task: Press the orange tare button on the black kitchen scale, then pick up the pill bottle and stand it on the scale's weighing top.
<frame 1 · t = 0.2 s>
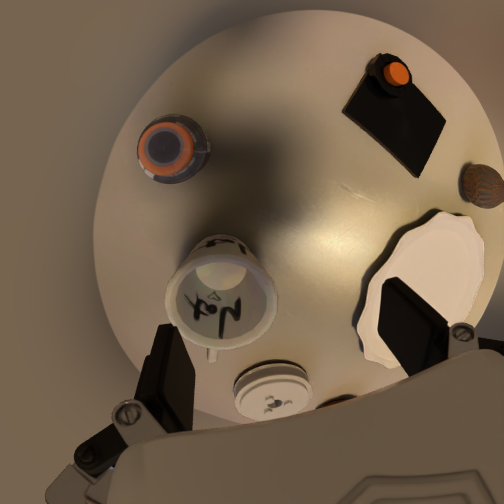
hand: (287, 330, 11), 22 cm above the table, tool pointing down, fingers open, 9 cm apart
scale: (399, 115, 28), on the table
plate: (425, 292, 39), on the table
lid: (270, 384, 42), on the table
vase: (467, 181, 33), on the table
tare button: (396, 74, 24), point 3 cm above the table, slide at 0.1 cm
mug: (218, 278, 34), on the table
pill bottle: (184, 149, 28), on the table
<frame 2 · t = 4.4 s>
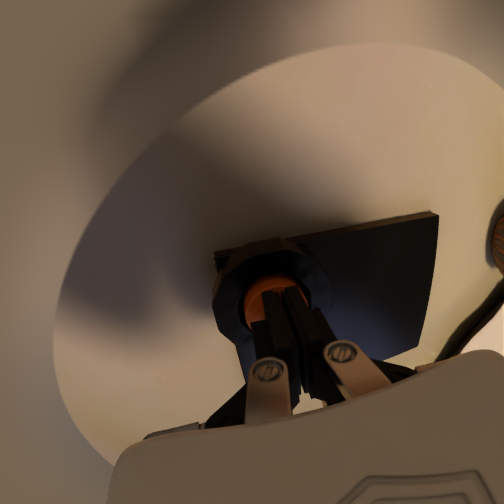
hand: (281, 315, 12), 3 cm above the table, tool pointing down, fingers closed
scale: (341, 309, 17), on the table
plate: (477, 366, 24), on the table
vase: (500, 235, 17), on the table
tare button: (274, 305, 13), point 2 cm above the table, slide at -0.5 cm, touching gripper
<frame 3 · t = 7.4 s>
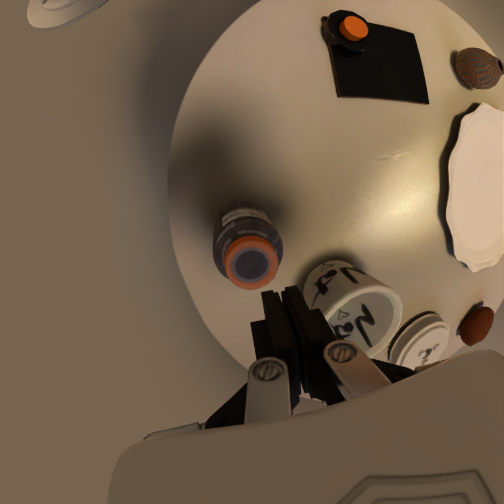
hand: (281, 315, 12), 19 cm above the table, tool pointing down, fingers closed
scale: (379, 60, 24), on the table
plate: (487, 187, 32), on the table
lid: (414, 339, 42), on the table
potato: (469, 317, 43), on the table
vase: (461, 70, 25), on the table
tare button: (353, 28, 20), point 3 cm above the table, slide at 0.1 cm
mug: (335, 297, 36), on the table
pill bottle: (241, 225, 31), on the table
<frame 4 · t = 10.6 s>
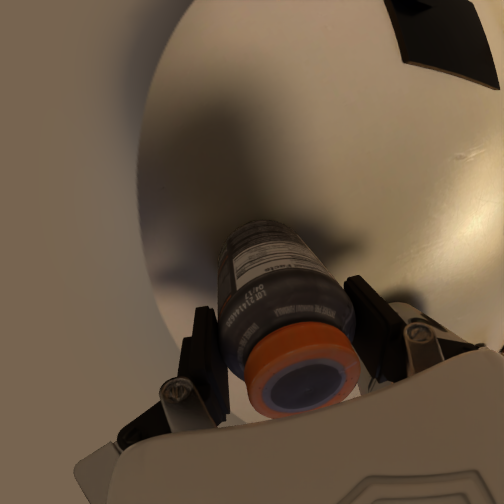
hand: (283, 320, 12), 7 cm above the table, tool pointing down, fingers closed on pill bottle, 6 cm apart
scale: (443, 25, 12), on the table
mug: (385, 347, 24), on the table
pill bottle: (262, 259, 19), on the table, touching gripper
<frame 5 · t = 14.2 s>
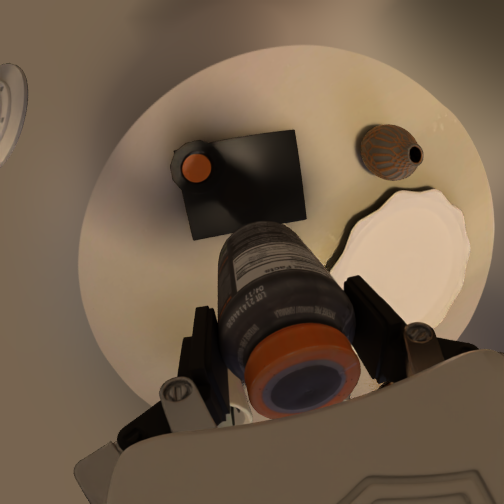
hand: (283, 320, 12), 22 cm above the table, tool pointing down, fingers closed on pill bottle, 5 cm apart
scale: (242, 183, 31), on the table
plate: (402, 277, 39), on the table
vase: (374, 151, 31), on the table
tare button: (197, 167, 27), point 3 cm above the table, slide at 0.1 cm
mug: (223, 380, 43), on the table
pill bottle: (262, 260, 19), point 15 cm above the table, touching gripper
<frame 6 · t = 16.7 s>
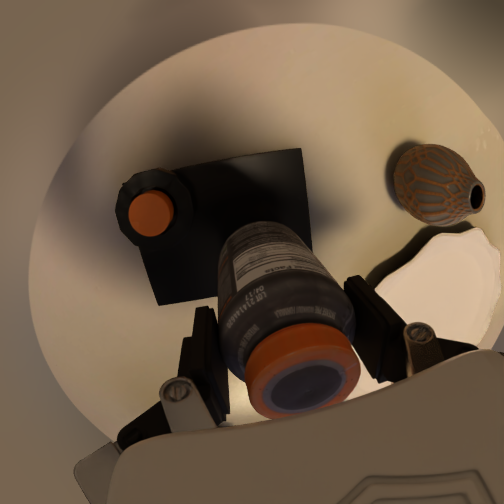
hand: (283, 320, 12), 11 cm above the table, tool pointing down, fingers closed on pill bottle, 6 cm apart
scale: (222, 229, 22), on the table
plate: (425, 329, 30), on the table
vase: (409, 178, 22), on the table
tare button: (151, 212, 18), point 3 cm above the table, slide at 0.1 cm
pill bottle: (262, 260, 19), point 4 cm above the table, touching gripper
when the fingers open (8 cm above the table, at t = 18.3 s): pill bottle stays where it is, resting on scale.
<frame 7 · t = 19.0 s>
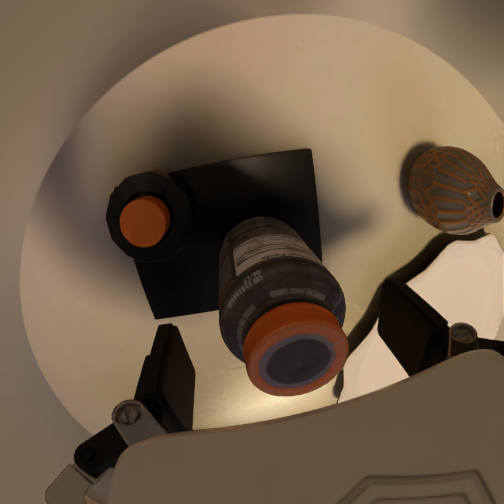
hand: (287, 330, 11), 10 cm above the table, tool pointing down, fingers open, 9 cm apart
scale: (224, 237, 20), on the table
plate: (434, 339, 27), on the table
vase: (423, 182, 20), on the table
tare button: (145, 220, 16), point 3 cm above the table, slide at 0.1 cm
pill bottle: (260, 253, 20), point 1 cm above the table, touching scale
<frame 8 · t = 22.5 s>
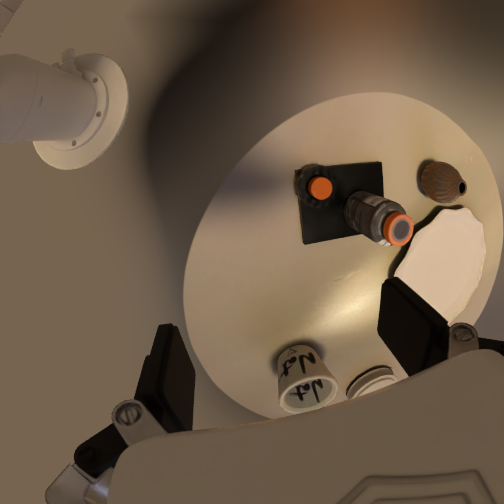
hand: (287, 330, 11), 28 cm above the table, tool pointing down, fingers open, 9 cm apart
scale: (342, 200, 39), on the table
plate: (438, 273, 47), on the table
lid: (369, 383, 56), on the table
vase: (428, 178, 39), on the table
tare button: (319, 187, 35), point 3 cm above the table, slide at 0.1 cm
mug: (300, 364, 50), on the table
pill bottle: (359, 209, 39), point 1 cm above the table, touching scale
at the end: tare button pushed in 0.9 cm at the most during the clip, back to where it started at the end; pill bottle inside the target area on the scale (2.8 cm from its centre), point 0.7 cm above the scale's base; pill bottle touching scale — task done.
